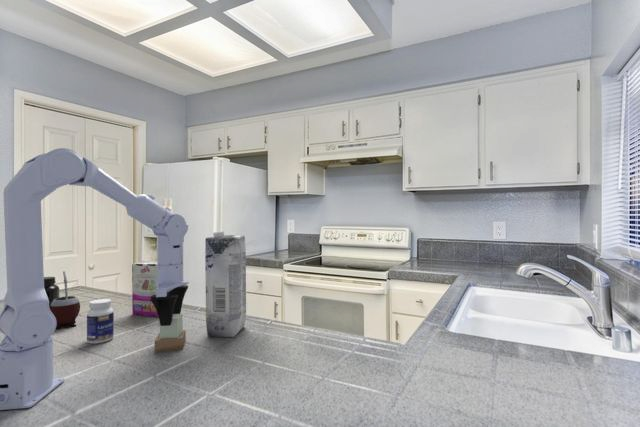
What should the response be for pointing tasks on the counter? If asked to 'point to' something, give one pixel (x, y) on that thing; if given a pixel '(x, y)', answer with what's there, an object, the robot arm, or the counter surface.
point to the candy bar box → (144, 288)
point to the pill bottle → (100, 321)
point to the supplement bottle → (51, 289)
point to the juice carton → (225, 284)
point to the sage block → (172, 328)
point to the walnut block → (170, 343)
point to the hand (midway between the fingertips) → (170, 320)
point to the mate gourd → (65, 309)
